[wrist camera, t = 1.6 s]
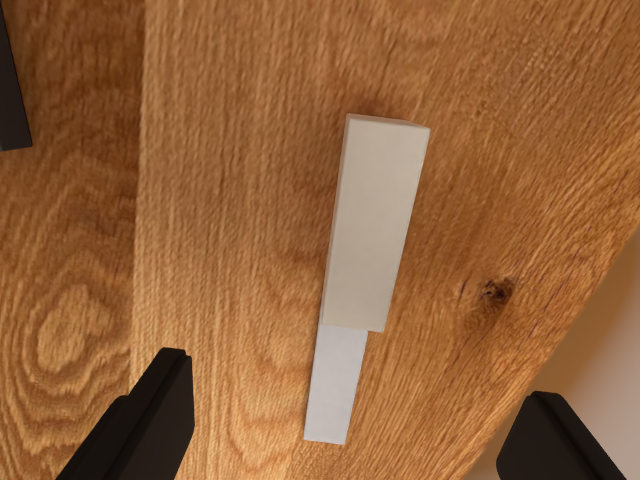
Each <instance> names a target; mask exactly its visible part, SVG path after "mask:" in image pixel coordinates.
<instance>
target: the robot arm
mask: <svg viewBox="0 0 640 480" xmlns="http://www.w3.org/2000/svg"><path fill="white" fill-rule="evenodd" d="M194 426H195V418H194V396H193V375H192V357H191V356H187V355H186V351H185V350H183V349H175V348H166V347H163V348H161V350H160V351H159V352H158V354H157V355H156V356H155V358H154V359H153V361H152V362H151V364H150V365H149V366H148V368H147V369H146V371H145V372H144V373H143V375H142V376H141V378H140V379H139V381H138V382H137V383H136V385H135V386H134V388H133V389H132V391H131V392H130V393H129V395H128V396H126V395H122V396H119V397H118V398H116V399H115V400H114V401H113V403H112V404H111V405H110V406H109V408H108V409H107V410H106V412H105V413H104V414H103V416H102V417H101V418H100V420H99V421H98V423H97V424H96V425H95V427H94V428H93V429H92V431H91V432H90V433H89V435H88V436H87V437H86V439H85V440H84V442H83V443H82V444H81V446H80V447H79V448H78V450H77V451H76V452H75V454H74V455H73V456H72V458H71V459H70V461H69V462H68V463H67V465H66V466H65V467H64V469H63V470H62V471H61V473H60V474H59V475H58V477H57V478H56V479H55V480H174V478H175V476H176V473H177V471H178V469H179V466H180V464H181V462H182V459H183V457H184V455H185V452H186V450H187V448H188V445H189V443H190V440H191V438H192V435H193V431H194ZM496 467H497V472H498V475H499V477H500V479H501V480H627V479H626V478H625V477H624V476H623V474H622V473H621V472H620V470H619V469H618V468H617V466H616V465H615V464H614V462H613V461H612V460H611V459H610V457H609V456H608V455H607V453H606V452H605V451H604V450H603V448H602V447H601V446H600V444H599V443H598V442H597V441H596V439H595V438H594V437H593V435H592V434H591V433H590V431H589V430H588V429H587V428H586V426H585V425H584V424H583V422H582V421H581V420H580V418H579V417H578V416H577V415H576V413H575V412H574V411H573V410H572V408H571V407H570V406H569V404H568V403H567V402H566V400H565V399H564V398H563V397H562V396H561V395H559V394H558V393H550V392H541V391H534V392H532V394H531V395H530V396H527V397H526V398H525V400H524V402H523V404H522V407H521V409H520V411H519V413H518V415H517V417H516V419H515V421H514V423H513V425H512V428H511V430H510V432H509V434H508V436H507V438H506V440H505V442H504V445H503V447H502V449H501V451H500V453H499V455H498V457H497V461H496Z"/></svg>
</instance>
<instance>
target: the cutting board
mask: <svg viewBox="0 0 640 480" xmlns="http://www.w3.org/2000/svg"><path fill="white" fill-rule="evenodd" d="M31 146H32V143H31V138H30V134H29V129H28V125H27V121H26V116H25V112H24V107H23V103H22V99H21V94H20V90H19V85H18V81H17V76H16V72H15V68H14V63H13V59H12V54H11V50H10V45H9V41H8V37H7V32H6V28H5V23H4V19H3V15H2V10H1V6H0V151H8V150H14V149H20V148H26V147H31Z"/></svg>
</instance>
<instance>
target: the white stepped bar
mask: <svg viewBox="0 0 640 480" xmlns="http://www.w3.org/2000/svg"><path fill="white" fill-rule="evenodd" d="M430 132H431V129H430V128H428V127H426V126H423V125H420V124H417V123H414V122H411V121H408V120H401V119H393V118H385V117H376V116H368V115H360V114H352V113H348V114H347V115H346V122H345V130H344V137H343V145H342V152H341V160H340V167H339V174H338V182H337V189H336V197H335V204H334V211H333V219H332V226H331V234H330V241H329V249H328V256H327V263H326V271H325V278H324V286H323V293H322V300H321V308H320V315H319V323H318V330H317V337H316V345H315V352H314V360H313V367H312V375H311V382H310V389H309V397H308V404H307V412H306V419H305V426H304V435H303V439H304V440H310V441H318V442H326V443H334V444H342V445H344V444H345V441H346V436H347V431H348V426H349V422H350V417H351V412H352V407H353V403H354V398H355V393H356V388H357V384H358V379H359V374H360V370H361V365H362V360H363V355H364V351H365V346H366V341H367V336H368V332H369V331H375V332H384V329H385V324H386V320H387V316H388V312H389V307H390V303H391V299H392V294H393V290H394V286H395V282H396V277H397V273H398V269H399V264H400V260H401V256H402V252H403V247H404V243H405V239H406V235H407V230H408V226H409V222H410V217H411V213H412V209H413V205H414V200H415V196H416V192H417V187H418V183H419V179H420V175H421V170H422V166H423V162H424V157H425V153H426V149H427V145H428V140H429V136H430Z"/></svg>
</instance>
